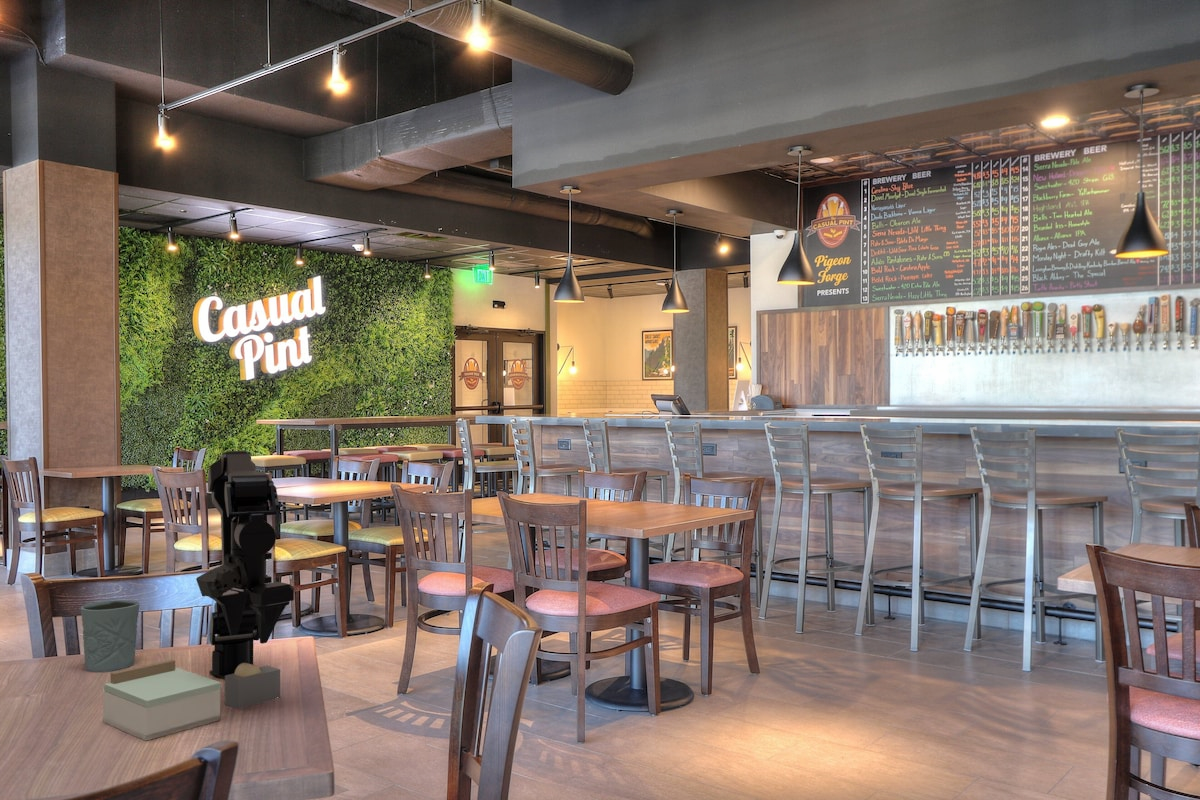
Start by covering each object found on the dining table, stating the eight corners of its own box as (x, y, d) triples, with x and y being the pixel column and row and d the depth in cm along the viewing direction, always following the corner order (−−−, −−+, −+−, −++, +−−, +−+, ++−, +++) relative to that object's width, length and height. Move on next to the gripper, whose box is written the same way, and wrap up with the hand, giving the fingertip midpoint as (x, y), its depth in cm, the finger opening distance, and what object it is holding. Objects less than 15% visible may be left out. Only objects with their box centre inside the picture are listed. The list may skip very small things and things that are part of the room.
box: (175, 703, 158) (176, 673, 158) (220, 720, 149) (220, 688, 149) (102, 721, 149) (103, 690, 149) (145, 741, 140) (145, 707, 140)
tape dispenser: (266, 693, 164) (267, 656, 164) (280, 698, 161) (280, 660, 161) (224, 705, 157) (225, 666, 158) (237, 709, 155) (238, 670, 155)
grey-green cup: (79, 675, 175) (79, 611, 175) (81, 662, 184) (81, 602, 184) (139, 668, 179) (140, 606, 179) (138, 656, 188) (138, 597, 188)
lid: (177, 673, 158) (177, 658, 158) (221, 688, 149) (221, 672, 149) (104, 690, 148) (104, 674, 148) (146, 707, 140) (147, 690, 140)
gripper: (175, 548, 158) (174, 639, 158) (235, 559, 147) (234, 657, 147) (235, 541, 167) (235, 627, 167) (296, 550, 156) (296, 643, 156)
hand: (248, 638), depth 159 cm, fingers open, 9 cm apart
